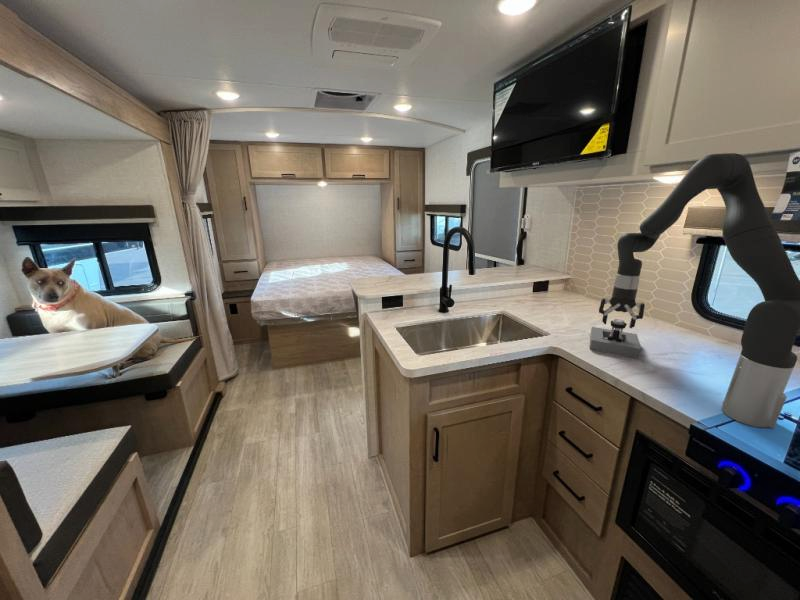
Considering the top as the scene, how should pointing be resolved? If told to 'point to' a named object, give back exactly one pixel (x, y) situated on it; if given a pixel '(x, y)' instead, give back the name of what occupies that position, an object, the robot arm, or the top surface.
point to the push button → (616, 330)
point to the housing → (615, 343)
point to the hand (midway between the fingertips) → (617, 325)
